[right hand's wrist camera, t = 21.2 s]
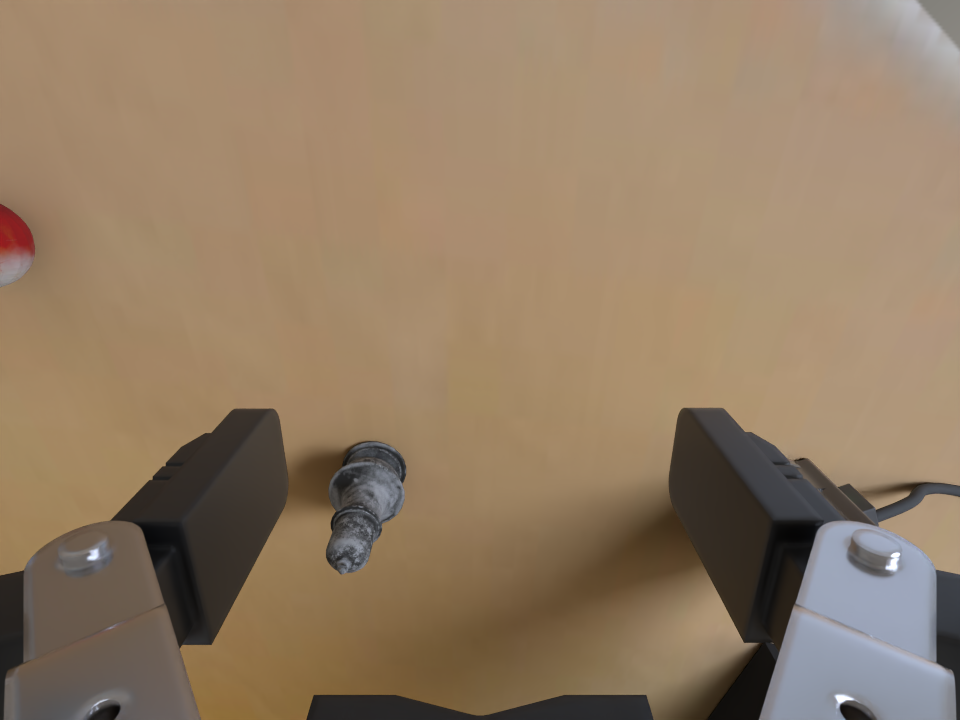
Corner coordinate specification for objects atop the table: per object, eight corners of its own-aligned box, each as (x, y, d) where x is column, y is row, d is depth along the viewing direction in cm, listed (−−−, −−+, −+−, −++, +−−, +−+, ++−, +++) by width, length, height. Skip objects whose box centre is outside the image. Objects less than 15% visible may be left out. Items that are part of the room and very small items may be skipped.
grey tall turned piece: (404, 503, 48) (382, 614, 37) (336, 492, 47) (291, 602, 36) (414, 444, 46) (393, 543, 34) (342, 432, 45) (297, 529, 34)
